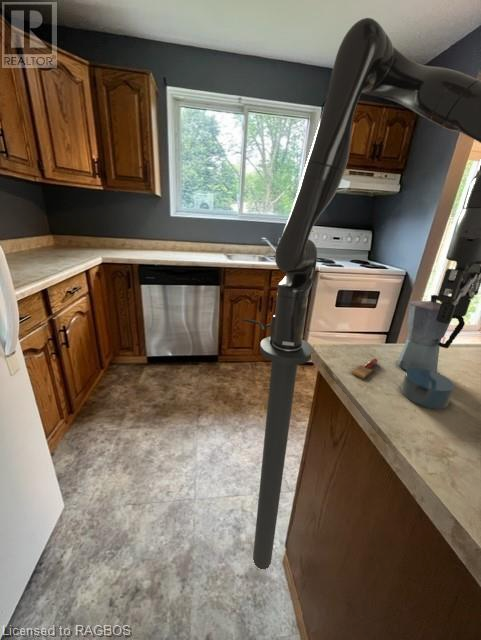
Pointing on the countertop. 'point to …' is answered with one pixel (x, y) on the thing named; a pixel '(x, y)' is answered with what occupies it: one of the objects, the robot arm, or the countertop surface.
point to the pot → (427, 388)
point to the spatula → (364, 369)
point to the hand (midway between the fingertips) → (450, 318)
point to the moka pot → (425, 335)
